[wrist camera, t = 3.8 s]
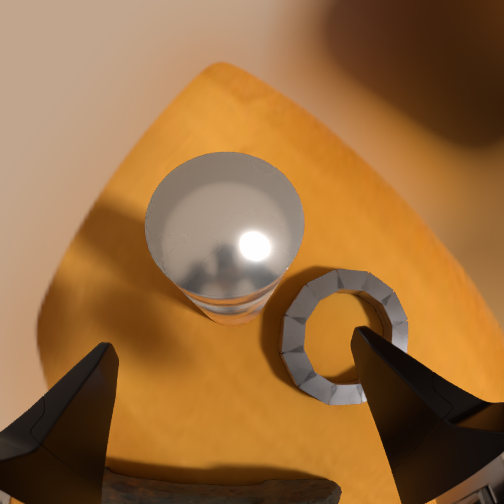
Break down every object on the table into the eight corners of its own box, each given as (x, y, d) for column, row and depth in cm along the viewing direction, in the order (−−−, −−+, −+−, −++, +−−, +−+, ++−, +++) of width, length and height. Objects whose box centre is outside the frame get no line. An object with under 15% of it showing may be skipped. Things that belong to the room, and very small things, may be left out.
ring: (357, 421, 18) (364, 425, 17) (252, 357, 19) (253, 358, 18) (415, 316, 21) (425, 314, 19) (325, 251, 22) (330, 244, 21)
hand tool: (108, 495, 15) (87, 517, 10) (101, 459, 16) (76, 478, 11) (330, 502, 16) (347, 528, 11) (333, 467, 17) (353, 491, 12)
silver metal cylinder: (239, 340, 20) (241, 332, 8) (185, 299, 21) (115, 233, 8) (278, 285, 21) (331, 202, 9) (225, 248, 22) (212, 131, 10)
